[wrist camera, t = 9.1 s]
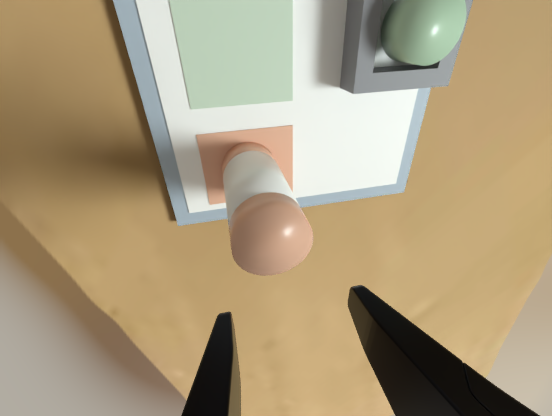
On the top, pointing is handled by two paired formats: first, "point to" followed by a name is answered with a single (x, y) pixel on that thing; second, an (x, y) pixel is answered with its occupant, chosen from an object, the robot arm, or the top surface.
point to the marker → (262, 212)
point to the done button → (422, 30)
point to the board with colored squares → (277, 95)
